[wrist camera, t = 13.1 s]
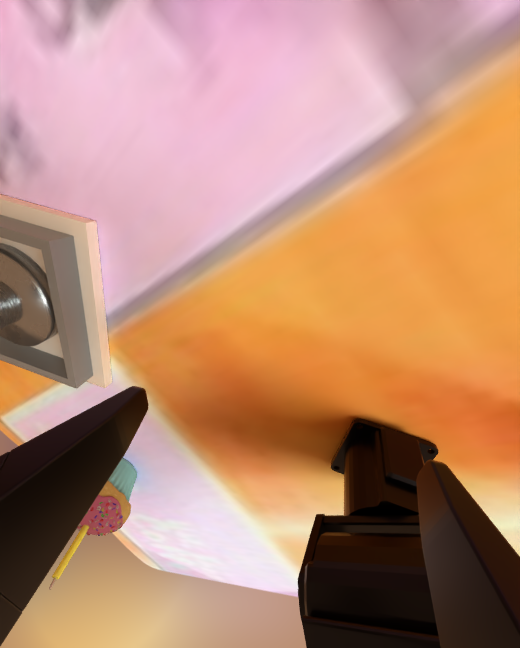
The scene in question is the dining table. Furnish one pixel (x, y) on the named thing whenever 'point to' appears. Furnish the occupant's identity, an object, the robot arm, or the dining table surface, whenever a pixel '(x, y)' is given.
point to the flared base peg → (24, 299)
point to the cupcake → (105, 510)
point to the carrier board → (61, 293)
